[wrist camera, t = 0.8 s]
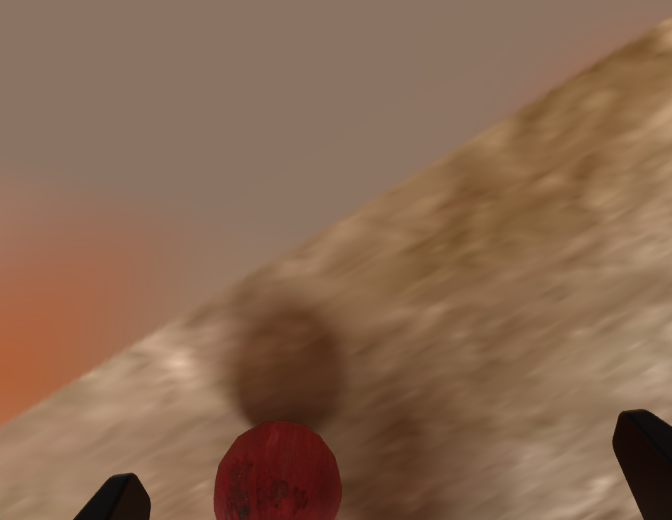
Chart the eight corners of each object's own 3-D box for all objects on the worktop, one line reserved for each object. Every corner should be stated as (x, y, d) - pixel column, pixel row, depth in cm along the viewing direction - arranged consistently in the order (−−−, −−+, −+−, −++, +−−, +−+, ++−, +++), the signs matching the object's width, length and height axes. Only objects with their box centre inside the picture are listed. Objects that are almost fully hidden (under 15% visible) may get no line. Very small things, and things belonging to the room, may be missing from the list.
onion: (210, 421, 25) (156, 556, 18) (301, 370, 24) (286, 490, 17) (271, 495, 27) (247, 650, 19) (359, 450, 26) (370, 593, 18)
